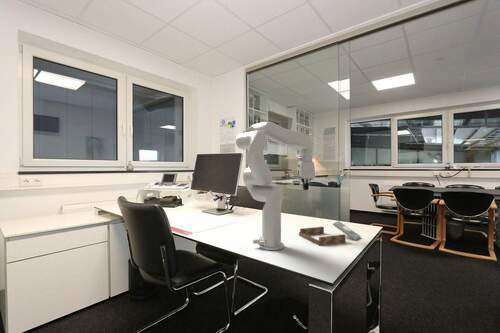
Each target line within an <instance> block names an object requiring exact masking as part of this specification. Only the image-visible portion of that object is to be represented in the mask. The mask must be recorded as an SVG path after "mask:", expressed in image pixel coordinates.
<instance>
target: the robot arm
mask: <svg viewBox="0 0 500 333" xmlns="http://www.w3.org/2000/svg"><path fill="white" fill-rule="evenodd" d="M267 140H270V141H273V142H275V143H277V144H280V145H285V146H286V145H287V146H288V148H289V149H290V151H299V153H298V154H299V156H298V157H297V160H299V161H298V163H297V167H296V168H297V169H296V170H297V171H296V176H297V180H298V181H300V182H301V183H302V190H303V191H309V187H310V185H309V184H310V182H312V181H314V180H315V178H316V171H315V170H316V168H315V162H314V161H313V144H314V142H313V138H312V137H311V136H310V135H309V134H307V133H305V132H302V131H298V130H293V129H287V128H285V127H282V126H281V125H279V124H277V123H275V122H272V121H269V120H267V121H262V122H257V123H254V124H252V125H251V126H249V127H248V128H246V129H245V130H242V131H241V132H240V133H238V135H236V138H235V144H236V146H237V148H238V149H240V150H247V154H246V158H245V159H246V160H245V161H246V164H247V168H246V167H245V169H244V171H243V173H242V180H243V183H244V185H245V186H246V188H247V190H248V192H249V194H250V196H251V197H252V199H253V200H255V201H257V202H261V203H263V202H264V205H263V207H262V210H261V211H262V212H261V221H262V222H261V230H262V231H261V236H260V238H258V239H253V240H252V244H254V245H258V247H259V248H260V249H262V250H265V251H279V250H282V249H284V248H285V243H284V242H282V203H283V202H282V201H283V198H284V190H283V188H282V187H281V186H280V185H278V184H275V183H272V182H273V174H272V172H271V170H270V168H269V166H268V164H267V161H266V159H265V157H264V151H265V146H266V143H267Z"/></svg>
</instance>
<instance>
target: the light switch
mask: <svg viewBox="0 0 500 333" xmlns="http://www.w3.org/2000/svg"><path fill="white" fill-rule="evenodd" d="M332 226H334V227H335V228H336V229H338V230H339V231H341V232H342V233H343V234H344V235H345V236H348V237H349V238H351V239H352V240H353V241H355V242H356V241H358V240H359V239H360V238H361V235H360V234H359V233H357V232H355V231H354V230H352V229H351V228H350V227H349V226H347V225H346V224H344V223H343V222H341V221H340V220H338V221H336V222H333V223H332Z"/></svg>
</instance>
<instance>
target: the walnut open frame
mask: <svg viewBox="0 0 500 333" xmlns="http://www.w3.org/2000/svg"><path fill="white" fill-rule="evenodd" d="M324 233H325V227H324V226H316V227H315V226H313V227H303V228H302V227H301V228H299V232H298V236H299V237H301V238H303V239H304V240H307V241H308V242H311V243H313V244H315V245H317V246H327V245H335V244H343V243H344V244H345V243H346V234H345V233H343V234H334V235H325V236H319V237H318V239H317V238H314V237H313V235H314V236H315V235H323V234H324Z"/></svg>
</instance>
